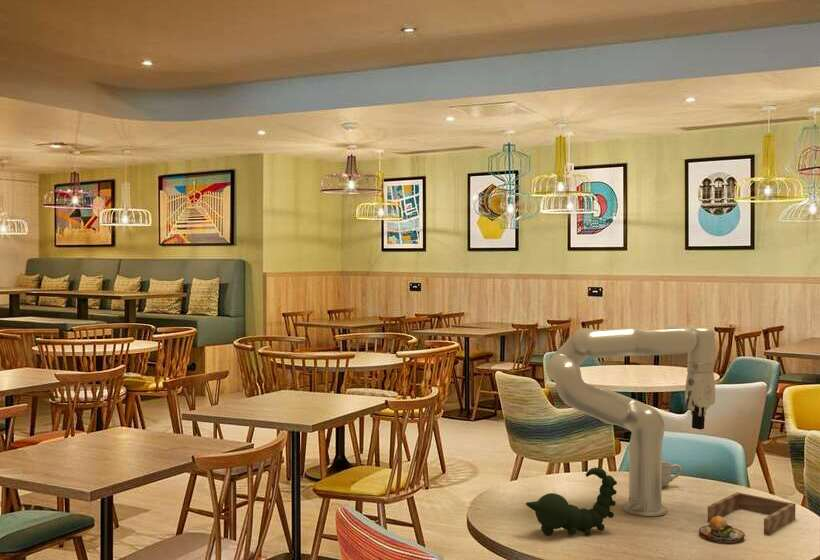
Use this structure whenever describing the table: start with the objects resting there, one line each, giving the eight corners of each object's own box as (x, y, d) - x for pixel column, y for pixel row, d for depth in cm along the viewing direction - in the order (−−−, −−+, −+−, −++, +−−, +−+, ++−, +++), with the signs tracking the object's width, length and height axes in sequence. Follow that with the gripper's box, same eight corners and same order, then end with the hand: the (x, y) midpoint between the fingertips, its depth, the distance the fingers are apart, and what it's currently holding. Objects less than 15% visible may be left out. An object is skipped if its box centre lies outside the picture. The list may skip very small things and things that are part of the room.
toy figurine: (602, 531, 244) (517, 528, 239) (609, 464, 244) (523, 460, 239) (616, 542, 235) (528, 539, 230) (623, 472, 234) (535, 468, 230)
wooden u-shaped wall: (768, 535, 235) (768, 519, 235) (707, 521, 247) (707, 506, 247) (795, 519, 250) (795, 503, 249) (736, 506, 262) (736, 492, 262)
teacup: (635, 488, 282) (636, 464, 282) (640, 480, 292) (640, 457, 292) (679, 492, 277) (680, 468, 277) (682, 484, 287) (682, 460, 287)
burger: (752, 544, 229) (752, 516, 229) (710, 546, 228) (710, 518, 227) (731, 530, 241) (731, 503, 240) (691, 531, 239) (691, 505, 239)
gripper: (698, 371, 250) (696, 433, 250) (724, 368, 259) (722, 427, 260) (675, 368, 255) (673, 429, 256) (702, 365, 265) (699, 423, 266)
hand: (697, 428), depth 258 cm, fingers closed
